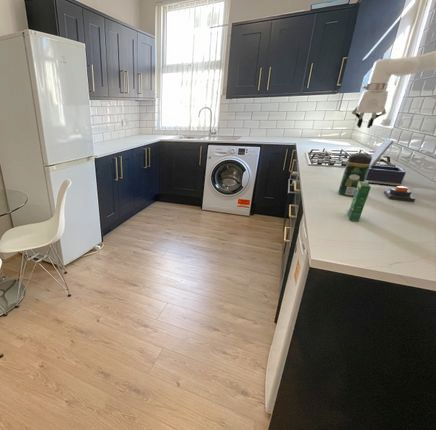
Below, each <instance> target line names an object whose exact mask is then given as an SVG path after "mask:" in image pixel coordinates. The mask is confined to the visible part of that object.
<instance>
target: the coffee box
mask: <svg viewBox="0 0 436 430" xmlns="http://www.w3.org/2000/svg"><path fill="white" fill-rule="evenodd" d="M368 182H369V181H365V182H362V181H359V182H358V185H357V188H356V191H355V194H354V196H352V201H351V204H350V207H349V210H348V213H347V215H349V216H348V220H349V221H350V220H353V221H352V222H356V221H358V222H360V219H361V217H362V213H363V211H364V207H365V204H366V202H367V199H368V197H369V193H370V191H371V188H372V186H371V184H368Z"/></svg>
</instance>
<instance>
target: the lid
mask: <svg viewBox="0 0 436 430" xmlns="http://www.w3.org/2000/svg"><path fill="white" fill-rule="evenodd" d="M394 143H395V140H393V139H390V138H388V137H386V138H385V139H384V140H383V141H382V142H381V144H380V145H379V146H378V148H376V150H375V151H374V152H373V153H372V155H370V156H371V157H372V160H371V163H370V166H369V168H371V167H372V166H373V165H376V163H377V162H378V161H379V160H380V158H381V157H382V156H383V155H384V154H385V153H386V152H387V150H388V149H389V148H390V147H391V146H392V144H394Z"/></svg>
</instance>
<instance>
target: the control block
mask: <svg viewBox="0 0 436 430" xmlns="http://www.w3.org/2000/svg"><path fill="white" fill-rule="evenodd" d="M395 189H396V187H392V188H391V187H390V189H384V191H383V194H384V195H385V197H386V198H387V199H388V200H394V201H399V202H406V203H407V202H408V203H415V201H416V198H415V197H414V196H413V195H412V193H413V192H412V191H411V190H409V189H407V192H403V191H397V190H395Z"/></svg>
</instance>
